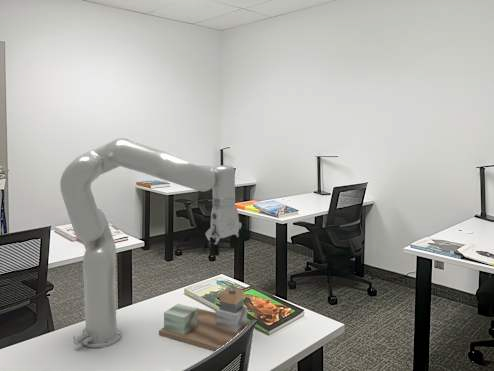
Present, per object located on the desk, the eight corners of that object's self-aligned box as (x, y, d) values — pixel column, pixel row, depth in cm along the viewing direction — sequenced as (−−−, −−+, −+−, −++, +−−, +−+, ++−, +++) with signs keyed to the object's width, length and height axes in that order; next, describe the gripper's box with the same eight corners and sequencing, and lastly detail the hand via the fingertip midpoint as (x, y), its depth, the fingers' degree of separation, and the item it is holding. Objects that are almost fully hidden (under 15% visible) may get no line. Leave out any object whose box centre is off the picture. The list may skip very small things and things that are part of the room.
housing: (235, 313, 141) (235, 293, 140) (219, 309, 144) (220, 289, 143) (243, 306, 147) (244, 287, 146) (228, 303, 149) (228, 284, 148)
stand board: (221, 353, 130) (222, 330, 129) (158, 334, 141) (158, 313, 140) (251, 325, 149) (251, 305, 148) (193, 311, 160) (193, 292, 159)
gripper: (214, 207, 134) (215, 260, 136) (248, 199, 147) (248, 247, 149) (197, 205, 138) (198, 255, 141) (232, 197, 152) (232, 243, 154)
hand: (224, 251), depth 145 cm, fingers open, 9 cm apart
